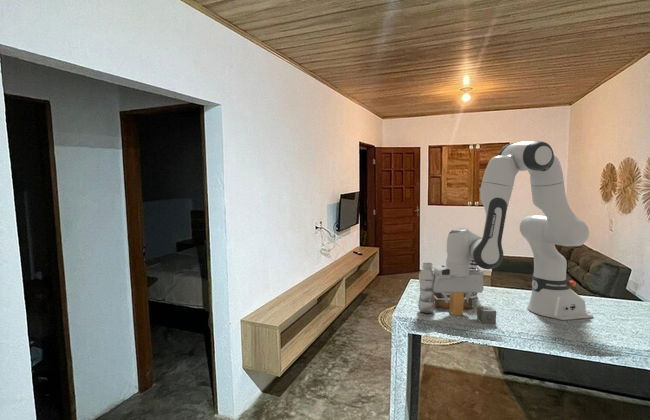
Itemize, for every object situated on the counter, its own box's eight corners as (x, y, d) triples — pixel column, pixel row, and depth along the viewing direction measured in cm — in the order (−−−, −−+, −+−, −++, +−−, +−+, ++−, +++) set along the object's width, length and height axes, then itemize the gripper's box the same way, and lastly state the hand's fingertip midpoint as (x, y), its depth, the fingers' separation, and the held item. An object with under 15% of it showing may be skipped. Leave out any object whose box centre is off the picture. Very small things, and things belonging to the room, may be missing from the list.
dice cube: (482, 324, 132) (482, 310, 131) (476, 318, 137) (477, 306, 136) (495, 324, 132) (496, 311, 131) (489, 319, 137) (490, 306, 136)
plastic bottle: (436, 315, 140) (437, 265, 138) (418, 314, 141) (419, 264, 139) (434, 309, 146) (435, 262, 144) (417, 308, 147) (418, 261, 146)
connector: (459, 311, 145) (459, 288, 144) (463, 314, 141) (463, 291, 140) (449, 311, 145) (450, 288, 144) (453, 314, 141) (453, 291, 140)
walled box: (459, 298, 160) (460, 286, 160) (472, 308, 147) (472, 296, 147) (426, 298, 160) (427, 287, 160) (436, 308, 147) (436, 296, 147)
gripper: (479, 267, 145) (478, 300, 146) (430, 267, 144) (429, 300, 145) (487, 271, 138) (485, 305, 139) (435, 271, 138) (434, 305, 139)
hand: (456, 302), depth 142 cm, fingers open, 6 cm apart
